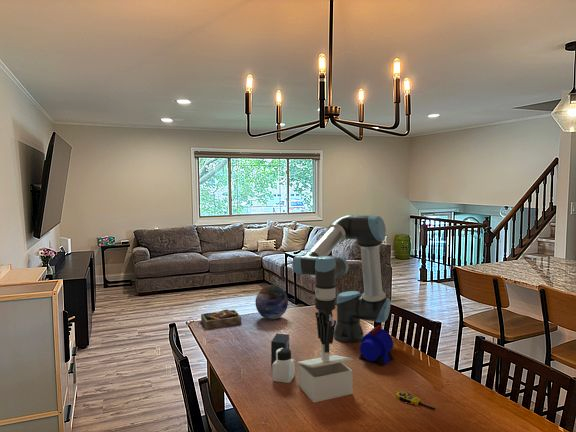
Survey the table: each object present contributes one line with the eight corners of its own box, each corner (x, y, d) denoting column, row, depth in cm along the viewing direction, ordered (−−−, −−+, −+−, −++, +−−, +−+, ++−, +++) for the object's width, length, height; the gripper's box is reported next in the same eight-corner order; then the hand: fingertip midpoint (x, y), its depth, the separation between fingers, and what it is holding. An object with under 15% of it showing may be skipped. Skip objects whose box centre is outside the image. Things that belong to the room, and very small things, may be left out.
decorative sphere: (252, 323, 239) (251, 288, 238) (260, 313, 259) (259, 280, 257) (285, 325, 236) (284, 289, 234) (290, 314, 256) (290, 281, 254)
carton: (334, 378, 170) (334, 356, 170) (352, 394, 157) (352, 370, 157) (298, 385, 165) (298, 363, 164) (313, 402, 152) (313, 378, 151)
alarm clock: (394, 359, 188) (394, 326, 187) (380, 368, 179) (380, 333, 178) (370, 352, 197) (370, 320, 195) (356, 360, 188) (356, 327, 186)
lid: (335, 356, 170) (335, 354, 170) (352, 360, 157) (352, 358, 157) (297, 363, 164) (297, 361, 164) (312, 367, 151) (311, 365, 151)
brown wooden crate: (238, 320, 244) (237, 312, 244) (215, 328, 233) (214, 319, 232) (226, 316, 252) (226, 308, 252) (203, 323, 241) (203, 315, 240)
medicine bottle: (294, 375, 173) (294, 347, 172) (289, 383, 166) (288, 354, 166) (278, 373, 175) (278, 345, 175) (272, 381, 169) (272, 351, 168)
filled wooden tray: (234, 316, 253) (234, 309, 253) (241, 323, 239) (241, 316, 239) (201, 320, 246) (201, 313, 245) (206, 328, 232) (205, 321, 231)
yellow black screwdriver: (400, 389, 158) (438, 403, 147) (400, 394, 158) (438, 408, 147) (393, 393, 154) (432, 408, 144) (393, 398, 154) (432, 414, 144)
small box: (285, 366, 183) (285, 342, 182) (270, 364, 184) (270, 341, 183) (290, 356, 193) (289, 333, 192) (276, 355, 194) (275, 333, 194)
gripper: (309, 295, 162) (309, 354, 164) (324, 303, 150) (324, 368, 151) (326, 293, 165) (326, 352, 166) (342, 301, 153) (342, 364, 154)
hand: (325, 359), depth 159 cm, fingers closed
